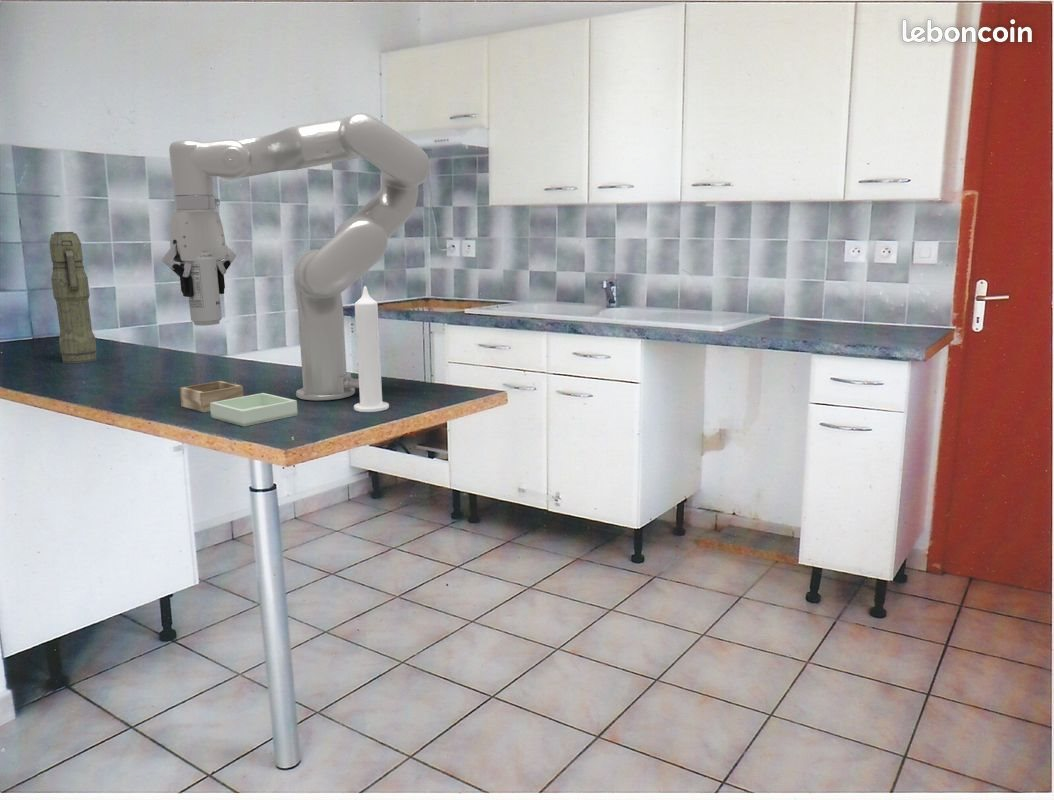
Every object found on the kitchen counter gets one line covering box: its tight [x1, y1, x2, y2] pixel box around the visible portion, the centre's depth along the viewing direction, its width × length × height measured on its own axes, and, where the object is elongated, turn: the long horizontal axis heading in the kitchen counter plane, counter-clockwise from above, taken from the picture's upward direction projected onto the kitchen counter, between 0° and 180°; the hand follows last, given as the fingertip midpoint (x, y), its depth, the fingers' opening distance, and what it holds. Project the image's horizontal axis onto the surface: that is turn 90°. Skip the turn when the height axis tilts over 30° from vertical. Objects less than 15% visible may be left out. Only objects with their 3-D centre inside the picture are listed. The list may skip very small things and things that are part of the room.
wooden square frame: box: [179, 380, 245, 413], centre depth 184 cm, size 9×9×4 cm
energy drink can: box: [188, 250, 223, 326], centre depth 179 cm, size 6×6×15 cm
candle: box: [353, 285, 390, 413], centre depth 177 cm, size 7×7×25 cm
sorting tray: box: [209, 392, 299, 428], centre depth 174 cm, size 12×12×3 cm
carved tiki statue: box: [49, 231, 98, 364], centre depth 239 cm, size 9×12×35 cm
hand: (203, 294), depth 179 cm, fingers closed on energy drink can, 6 cm apart
